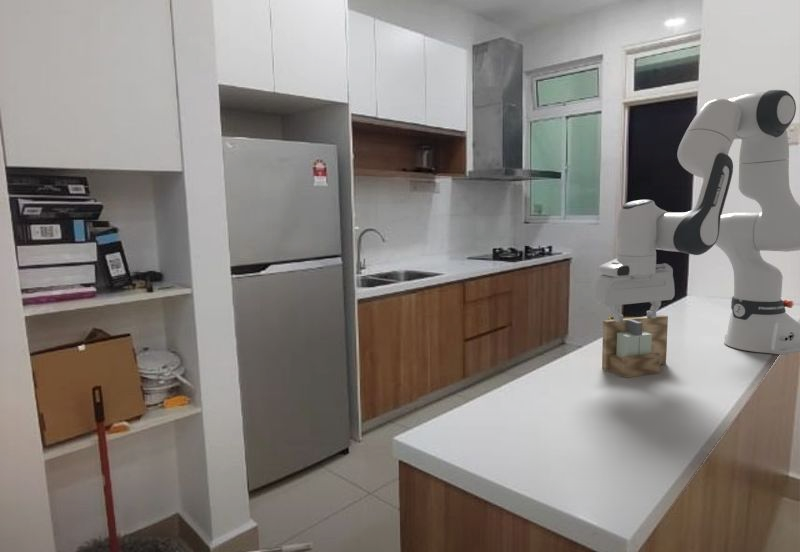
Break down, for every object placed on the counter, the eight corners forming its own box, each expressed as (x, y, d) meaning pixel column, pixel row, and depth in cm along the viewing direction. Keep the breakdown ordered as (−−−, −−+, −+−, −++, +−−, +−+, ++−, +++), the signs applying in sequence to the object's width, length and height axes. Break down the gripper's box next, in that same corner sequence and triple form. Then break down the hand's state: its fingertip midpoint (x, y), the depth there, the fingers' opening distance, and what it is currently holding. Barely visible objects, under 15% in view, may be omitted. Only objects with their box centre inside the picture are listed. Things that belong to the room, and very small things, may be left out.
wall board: (661, 361, 133) (663, 314, 131) (683, 370, 125) (685, 321, 123) (602, 368, 129) (603, 320, 127) (620, 378, 122) (621, 327, 120)
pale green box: (640, 352, 128) (641, 318, 127) (651, 357, 124) (652, 321, 123) (616, 355, 127) (617, 320, 126) (626, 360, 123) (627, 324, 122)
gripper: (663, 261, 128) (662, 313, 130) (592, 267, 124) (591, 320, 126) (681, 264, 121) (679, 318, 123) (607, 270, 118) (606, 326, 120)
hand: (634, 319), depth 125 cm, fingers open, 8 cm apart
